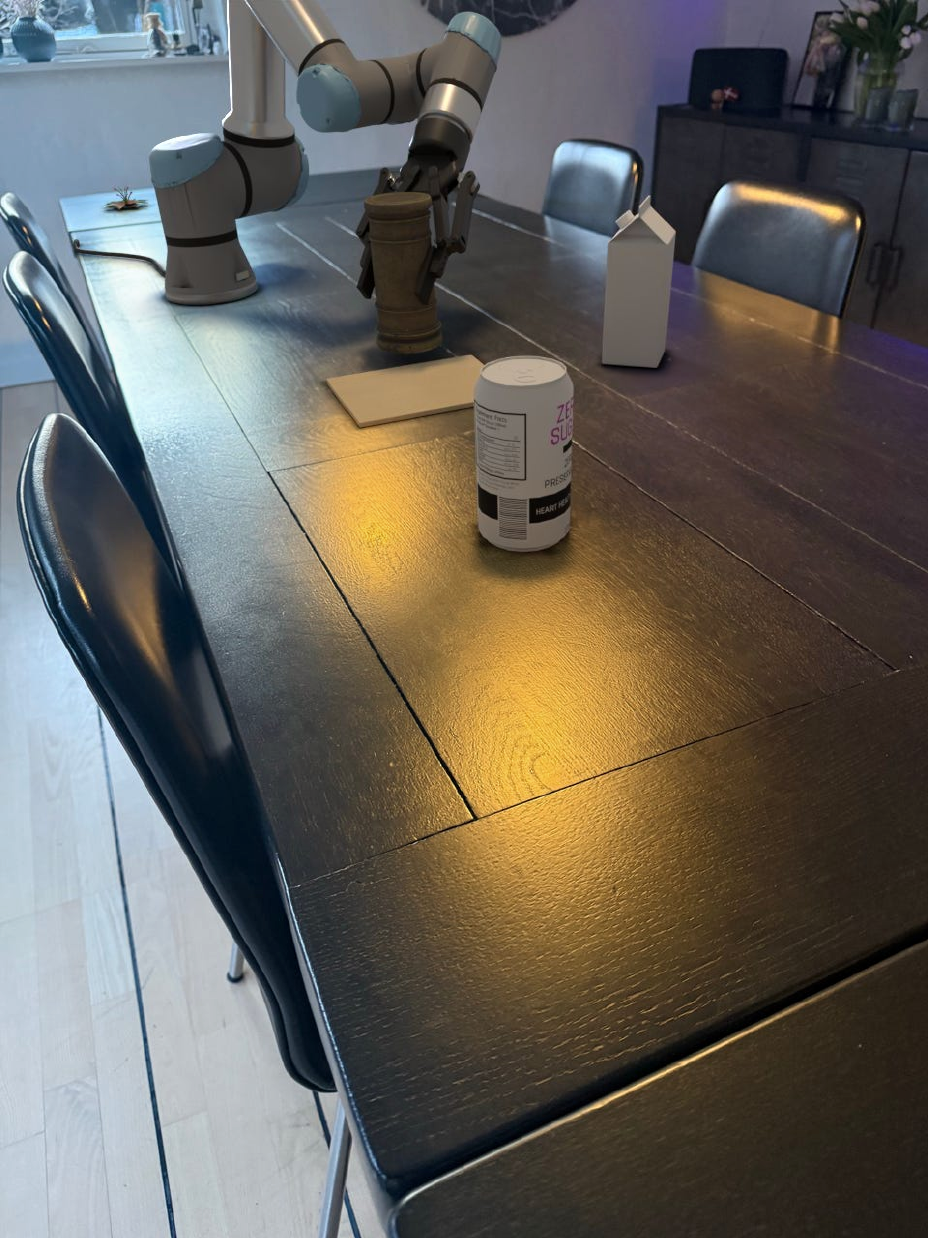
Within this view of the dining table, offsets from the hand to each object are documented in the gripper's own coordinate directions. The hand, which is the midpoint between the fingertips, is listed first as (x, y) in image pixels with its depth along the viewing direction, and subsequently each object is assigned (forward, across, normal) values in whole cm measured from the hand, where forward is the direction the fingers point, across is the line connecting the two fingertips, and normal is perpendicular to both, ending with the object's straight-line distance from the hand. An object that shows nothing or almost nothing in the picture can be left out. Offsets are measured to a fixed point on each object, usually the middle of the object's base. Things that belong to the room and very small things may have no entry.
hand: (391, 295), depth 113 cm
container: (+3, 0, -8) cm, 8 cm away
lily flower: (-49, +124, -62) cm, 147 cm away
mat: (+11, -7, -2) cm, 13 cm away
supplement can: (+31, -33, +18) cm, 49 cm away
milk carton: (-3, -28, -16) cm, 32 cm away
